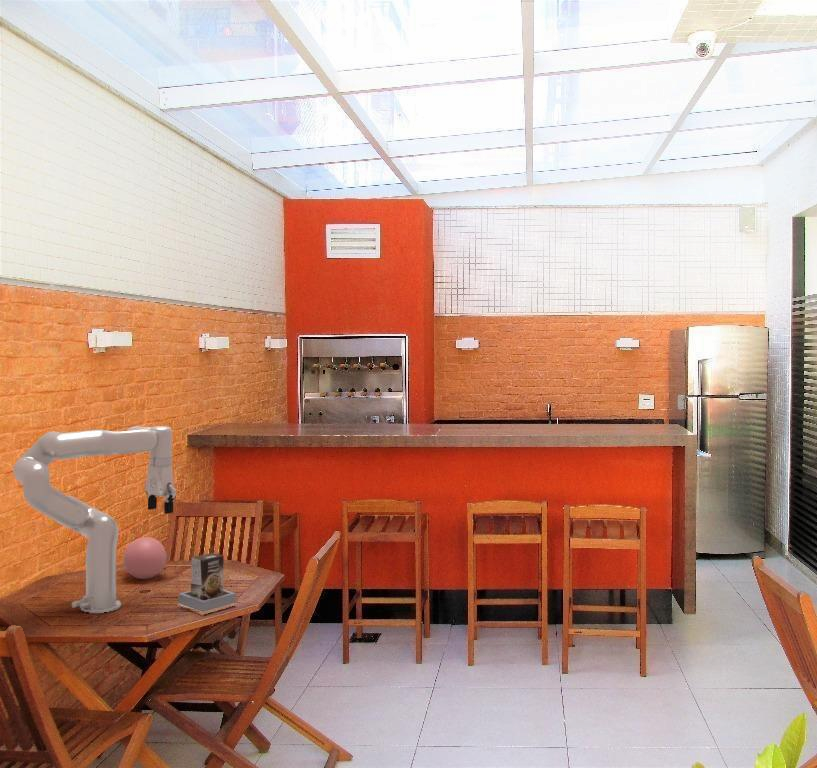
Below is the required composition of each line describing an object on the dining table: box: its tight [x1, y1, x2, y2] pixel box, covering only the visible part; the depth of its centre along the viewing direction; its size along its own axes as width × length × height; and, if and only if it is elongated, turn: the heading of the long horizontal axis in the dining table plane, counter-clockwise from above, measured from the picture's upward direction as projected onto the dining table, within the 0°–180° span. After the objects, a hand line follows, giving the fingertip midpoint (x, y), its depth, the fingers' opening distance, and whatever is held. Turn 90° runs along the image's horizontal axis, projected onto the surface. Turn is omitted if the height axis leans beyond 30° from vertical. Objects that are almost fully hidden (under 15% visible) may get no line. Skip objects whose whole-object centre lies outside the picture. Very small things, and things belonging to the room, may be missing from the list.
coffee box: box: [190, 552, 225, 600], centre depth 288 cm, size 9×6×16 cm
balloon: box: [122, 536, 167, 580], centre depth 322 cm, size 15×20×15 cm
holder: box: [178, 588, 237, 612], centre depth 289 cm, size 13×13×4 cm
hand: (160, 511), depth 296 cm, fingers open, 9 cm apart
